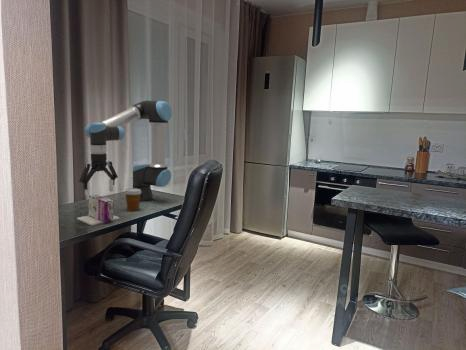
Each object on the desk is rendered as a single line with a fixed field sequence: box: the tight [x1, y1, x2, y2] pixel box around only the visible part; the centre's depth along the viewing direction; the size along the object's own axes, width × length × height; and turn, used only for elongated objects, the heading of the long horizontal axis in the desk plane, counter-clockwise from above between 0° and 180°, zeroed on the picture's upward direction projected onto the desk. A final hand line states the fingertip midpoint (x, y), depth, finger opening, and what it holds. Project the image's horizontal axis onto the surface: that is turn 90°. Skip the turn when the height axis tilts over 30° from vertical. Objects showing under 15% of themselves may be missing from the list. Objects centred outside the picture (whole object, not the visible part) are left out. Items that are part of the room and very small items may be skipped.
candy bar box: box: [87, 194, 114, 223], centre depth 174 cm, size 11×5×16 cm
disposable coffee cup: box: [124, 187, 141, 212], centre depth 196 cm, size 10×10×12 cm
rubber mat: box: [76, 214, 120, 226], centre depth 176 cm, size 16×14×1 cm
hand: (99, 193), depth 173 cm, fingers open, 13 cm apart
